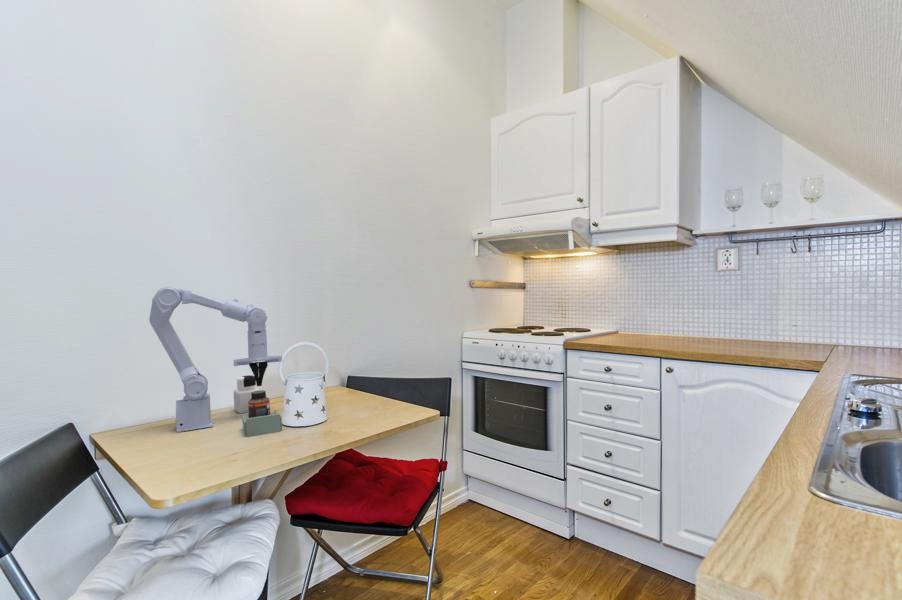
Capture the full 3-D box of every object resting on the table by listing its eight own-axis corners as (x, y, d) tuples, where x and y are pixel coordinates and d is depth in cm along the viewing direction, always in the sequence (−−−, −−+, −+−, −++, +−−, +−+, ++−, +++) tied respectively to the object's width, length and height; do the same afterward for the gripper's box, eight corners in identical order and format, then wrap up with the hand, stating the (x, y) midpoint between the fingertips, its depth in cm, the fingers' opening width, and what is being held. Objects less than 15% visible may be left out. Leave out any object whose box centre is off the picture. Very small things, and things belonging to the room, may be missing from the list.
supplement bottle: (275, 427, 135) (273, 390, 135) (257, 433, 130) (256, 394, 130) (262, 425, 138) (260, 388, 138) (244, 430, 133) (243, 392, 133)
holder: (245, 437, 127) (244, 419, 127) (242, 428, 135) (242, 412, 135) (282, 431, 132) (281, 414, 132) (278, 423, 140) (277, 407, 140)
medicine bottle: (255, 406, 163) (253, 373, 163) (261, 410, 158) (259, 376, 158) (234, 410, 159) (232, 376, 159) (239, 414, 153) (238, 379, 153)
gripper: (233, 347, 141) (235, 390, 141) (282, 343, 148) (284, 384, 148) (232, 345, 147) (234, 386, 147) (279, 341, 154) (281, 381, 154)
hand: (259, 385), depth 148 cm, fingers closed
